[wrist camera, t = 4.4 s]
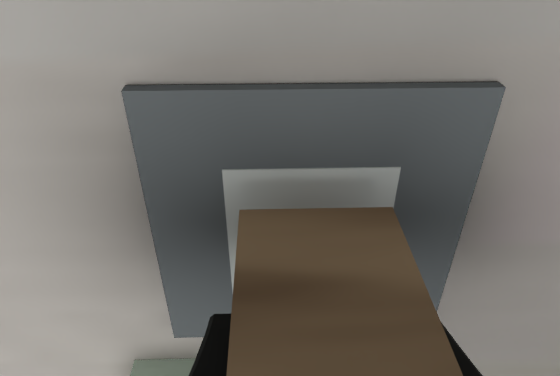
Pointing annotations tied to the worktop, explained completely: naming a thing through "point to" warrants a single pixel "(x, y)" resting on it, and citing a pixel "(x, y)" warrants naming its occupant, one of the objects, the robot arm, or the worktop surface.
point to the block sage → (162, 367)
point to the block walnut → (331, 298)
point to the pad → (301, 169)
